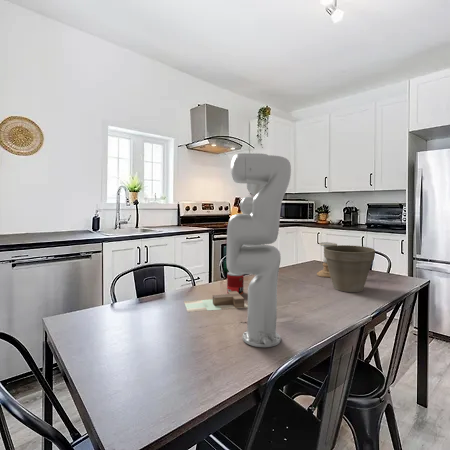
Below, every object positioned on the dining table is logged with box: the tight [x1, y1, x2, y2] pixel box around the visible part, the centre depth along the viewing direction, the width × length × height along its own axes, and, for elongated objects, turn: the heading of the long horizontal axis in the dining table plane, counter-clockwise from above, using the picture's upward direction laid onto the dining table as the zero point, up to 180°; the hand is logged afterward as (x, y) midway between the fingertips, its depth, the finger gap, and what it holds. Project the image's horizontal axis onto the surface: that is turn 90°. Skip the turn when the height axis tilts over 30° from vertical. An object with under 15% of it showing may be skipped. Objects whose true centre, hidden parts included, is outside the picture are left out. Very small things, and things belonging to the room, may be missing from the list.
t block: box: [212, 291, 245, 309], centre depth 138 cm, size 12×12×4 cm
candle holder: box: [316, 241, 338, 279], centre depth 196 cm, size 12×12×20 cm
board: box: [183, 299, 248, 313], centre depth 137 cm, size 14×26×1 cm, turn 104°
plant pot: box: [323, 244, 376, 293], centre depth 167 cm, size 25×25×22 cm
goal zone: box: [184, 298, 223, 312], centre depth 136 cm, size 14×14×1 cm
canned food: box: [226, 271, 245, 296], centre depth 155 cm, size 8×8×11 cm
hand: (251, 267), depth 140 cm, fingers closed
